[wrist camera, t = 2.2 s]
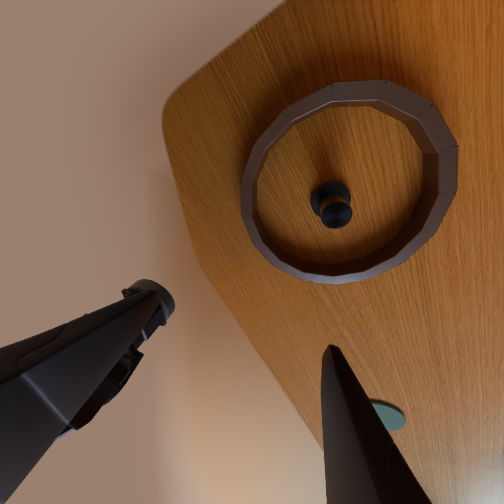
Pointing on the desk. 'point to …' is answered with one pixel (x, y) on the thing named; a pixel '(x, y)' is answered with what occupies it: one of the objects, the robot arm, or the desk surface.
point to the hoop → (434, 166)
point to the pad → (389, 415)
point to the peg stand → (332, 204)
